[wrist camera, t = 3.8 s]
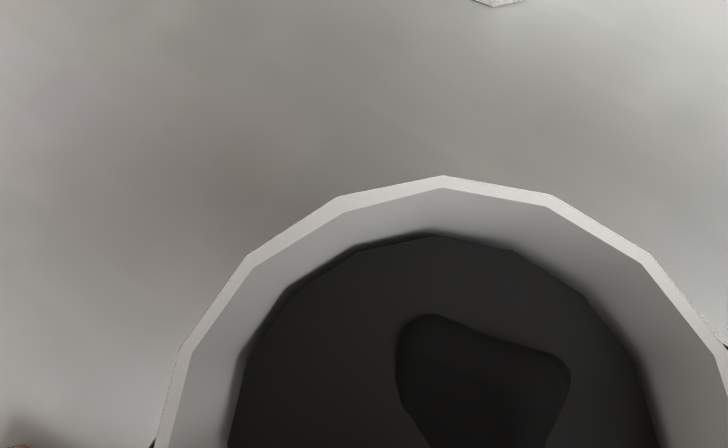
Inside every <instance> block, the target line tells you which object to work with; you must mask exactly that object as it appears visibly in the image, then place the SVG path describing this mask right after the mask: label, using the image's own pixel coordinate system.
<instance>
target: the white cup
mask: <svg viewBox="0 0 728 448" xmlns="http://www.w3.org/2000/svg"><path fill="white" fill-rule="evenodd" d="M154 448H728V350H727V349H726V348H725V347H724V345H723V344H722V343H721V342H720V340H719V339H718V338H717V337H716V335H715V334H714V333H713V332H712V330H711V329H710V328H709V327H708V325H707V324H706V323H705V322H704V320H703V319H702V318H701V316H700V315H699V314H698V313H697V311H696V310H695V309H694V308H693V306H692V305H691V304H690V303H689V301H688V300H687V299H686V298H685V296H684V295H683V294H682V293H681V291H680V290H679V289H678V288H677V286H676V285H675V284H674V283H673V281H672V280H671V279H670V277H669V276H668V275H667V274H666V272H665V271H664V270H663V269H662V267H661V266H660V265H659V264H658V262H657V261H656V260H655V259H654V257H653V256H652V255H651V254H649V253H648V252H646V251H645V250H643V249H641V248H640V247H638V246H636V245H635V244H633V243H631V242H630V241H628V240H626V239H625V238H623V237H621V236H620V235H618V234H616V233H615V232H613V231H611V230H610V229H608V228H606V227H605V226H603V225H601V224H600V223H598V222H596V221H595V220H593V219H591V218H590V217H588V216H586V215H585V214H583V213H581V212H580V211H578V210H577V209H575V208H573V207H572V206H570V205H568V204H567V203H565V202H563V201H562V200H560V199H558V198H557V197H555V196H553V195H551V194H546V193H540V192H535V191H529V190H524V189H518V188H512V187H507V186H501V185H496V184H490V183H484V182H479V181H473V180H468V179H462V178H457V177H451V176H445V175H441V176H436V177H431V178H426V179H421V180H416V181H411V182H406V183H401V184H396V185H391V186H386V187H381V188H376V189H371V190H366V191H361V192H356V193H351V194H346V195H341V196H337V197H335V198H334V199H332V200H331V201H329V202H328V203H326V204H325V205H323V206H322V207H320V208H318V209H317V210H315V211H314V212H312V213H311V214H309V215H308V216H306V217H305V218H303V219H302V220H300V221H298V222H297V223H295V224H294V225H292V226H291V227H289V228H288V229H286V230H285V231H283V232H282V233H280V234H279V235H277V236H275V237H274V238H272V239H271V240H269V241H268V242H266V243H265V244H263V245H262V246H260V247H259V248H257V249H255V250H254V251H252V252H251V253H249V254H248V255H246V256H245V258H244V259H243V260H242V262H241V263H240V265H239V266H238V267H237V269H236V270H235V272H234V273H233V274H232V276H231V277H230V279H229V280H228V281H227V283H226V284H225V286H224V287H223V288H222V290H221V291H220V293H219V294H218V295H217V297H216V298H215V300H214V301H213V302H212V304H211V305H210V307H209V308H208V309H207V311H206V312H205V314H204V315H203V316H202V318H201V319H200V321H199V322H198V323H197V325H196V326H195V328H194V329H193V330H192V332H191V333H190V335H189V336H188V337H187V339H186V340H185V342H184V343H183V344H182V346H181V347H180V349H179V353H178V357H177V360H176V364H175V368H174V372H173V376H172V380H171V383H170V387H169V391H168V395H167V399H166V402H165V406H164V410H163V414H162V418H161V421H160V425H159V429H158V433H157V437H156V440H155V444H154Z"/></svg>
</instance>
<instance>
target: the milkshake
mask: <svg viewBox="0 0 728 448" xmlns="http://www.w3.org/2000/svg"><path fill="white" fill-rule="evenodd" d="M475 1H478V2H481V3H484V4H487V5H489V6H492V7H496V6H500V5H504V4H508V3H513V2H517V1H522V0H475Z"/></svg>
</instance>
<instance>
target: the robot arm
mask: <svg viewBox="0 0 728 448" xmlns="http://www.w3.org/2000/svg"><path fill="white" fill-rule="evenodd" d="M722 344H723V343H722ZM723 345H724V344H723ZM724 347H725V348H726V349H727V350H728V346H726V345H724ZM155 440H156V438H155V439H154V441H153V442H152V444H151V445H150V446H149V448H154V444H155Z"/></svg>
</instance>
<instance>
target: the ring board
mask: <svg viewBox="0 0 728 448" xmlns="http://www.w3.org/2000/svg"><path fill="white" fill-rule="evenodd" d="M8 448H27V447H25V446H24V445H22V444H19V445H16V446H12V447H8Z"/></svg>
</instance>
